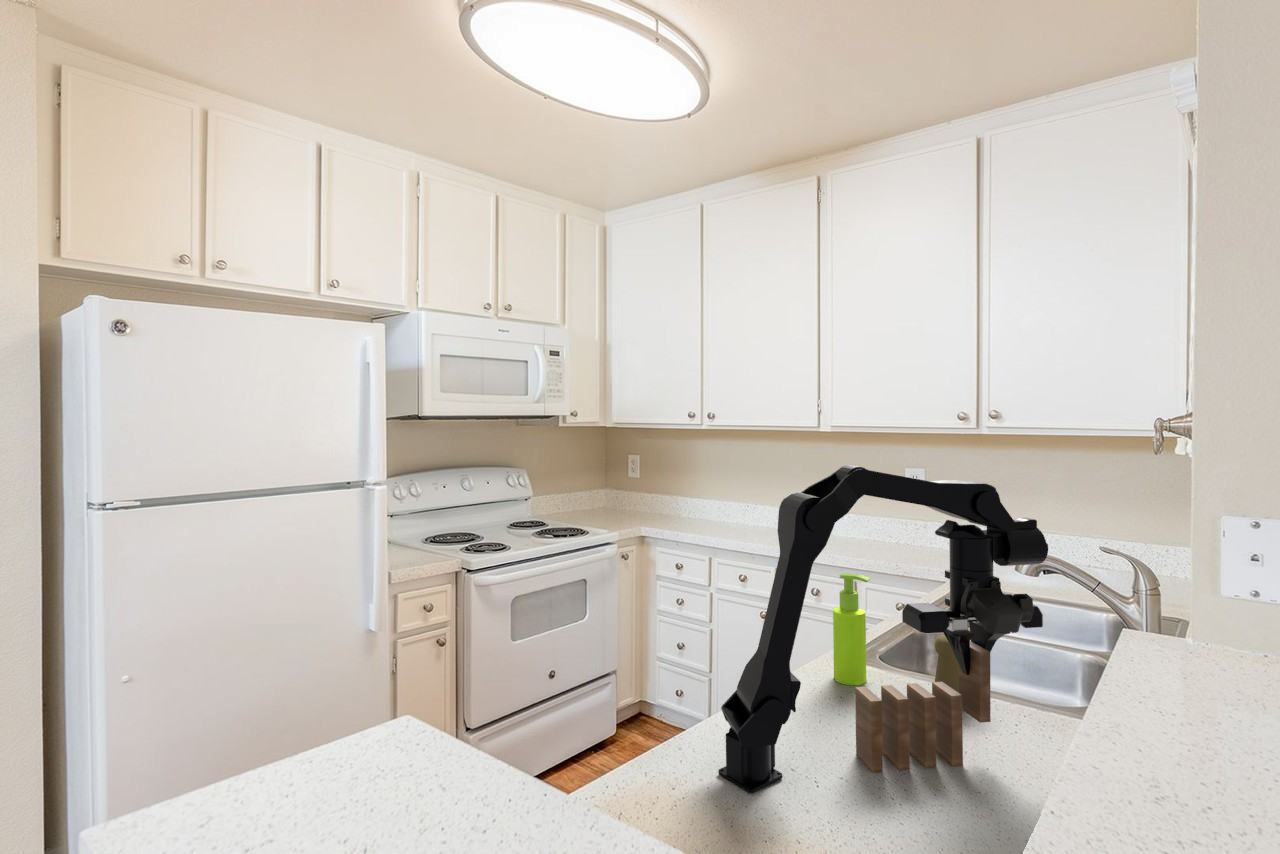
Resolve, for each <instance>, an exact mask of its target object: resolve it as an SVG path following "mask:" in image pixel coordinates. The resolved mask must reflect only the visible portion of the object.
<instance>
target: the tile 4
mask: <svg viewBox="0 0 1280 854" xmlns="http://www.w3.org/2000/svg"><path fill="white" fill-rule="evenodd" d="M931 692H932V693H931V694H932V695H934V696H935V697H936V754H938V755H940V757H942V759H944V760H945V761H946V762H947V763H948V764H950V766H952V767H956V766H958V767H959V766H960V767H961V766H964V755H963V754H964V747H963V746H964V745H963V744H964V743H963V737H964V736H963V729H964V728H963V710H962V695H961V694H960V693H958V692H957V691H955V690H954V689H952V688H951V687H949V686H948V685H946V684H945V683H943V682H935V681H933V682H931Z"/></svg>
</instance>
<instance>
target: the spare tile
mask: <svg viewBox="0 0 1280 854" xmlns="http://www.w3.org/2000/svg"><path fill="white" fill-rule="evenodd" d="M959 693H960V694H961V695H962V712H963V711H964V712H965V714H968V715H969V716H970V717H971V718H973V719H975V720H976V721H977V722H978V723H979V724H981V723H991V652H989V651H988V650H986V649H984V648H982V647H980V646H979V645H977V644H975V643H973V642H971V640H970V672H969V675H965V674H964V673H963V672H962V670H961V668H960V665H959Z"/></svg>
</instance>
